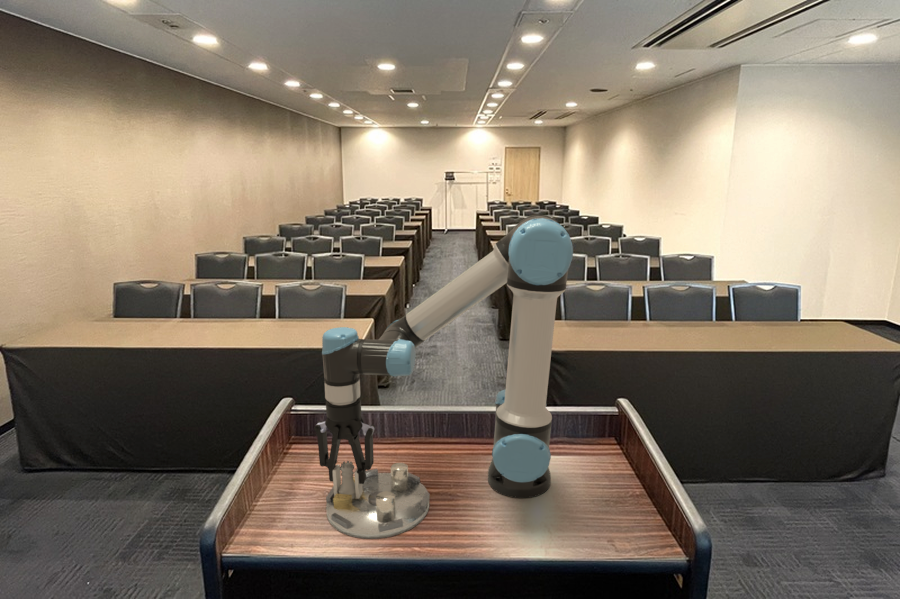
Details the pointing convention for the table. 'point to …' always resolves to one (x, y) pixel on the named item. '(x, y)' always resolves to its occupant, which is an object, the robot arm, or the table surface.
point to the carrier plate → (369, 512)
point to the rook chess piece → (347, 479)
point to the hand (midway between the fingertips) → (348, 494)
